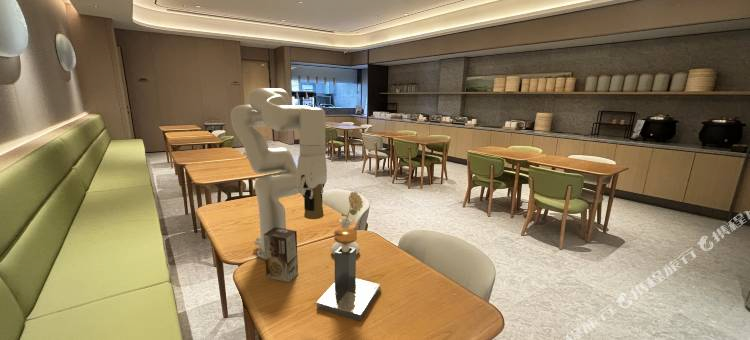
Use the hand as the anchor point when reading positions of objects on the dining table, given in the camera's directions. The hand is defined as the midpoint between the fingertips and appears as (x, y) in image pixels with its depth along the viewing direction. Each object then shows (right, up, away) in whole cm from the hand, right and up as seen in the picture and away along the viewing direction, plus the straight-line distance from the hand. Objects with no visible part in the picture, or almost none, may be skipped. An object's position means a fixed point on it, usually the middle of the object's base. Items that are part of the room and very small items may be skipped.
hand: (313, 207), depth 99 cm
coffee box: (-13, -25, +11) cm, 30 cm away
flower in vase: (+8, -22, +28) cm, 36 cm away
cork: (0, -3, +1) cm, 3 cm away
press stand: (+11, -28, 0) cm, 31 cm away
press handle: (+10, -20, +2) cm, 23 cm away
